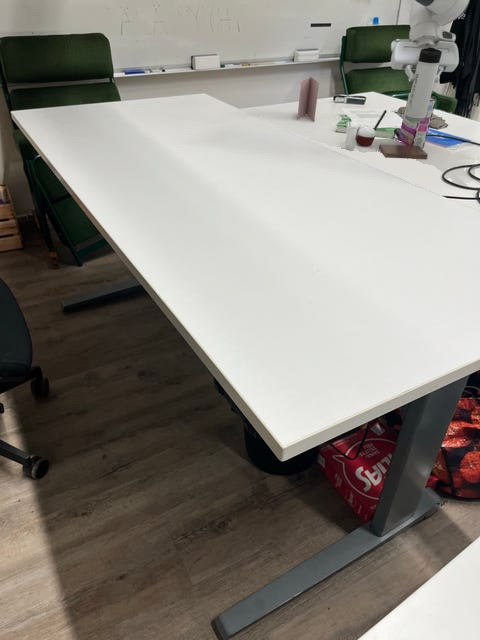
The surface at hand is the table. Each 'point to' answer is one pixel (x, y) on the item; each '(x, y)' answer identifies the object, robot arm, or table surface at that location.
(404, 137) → the candy bar box
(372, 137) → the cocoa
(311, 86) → the greeting card
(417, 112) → the travel mug
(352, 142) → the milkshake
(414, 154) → the walnut board
